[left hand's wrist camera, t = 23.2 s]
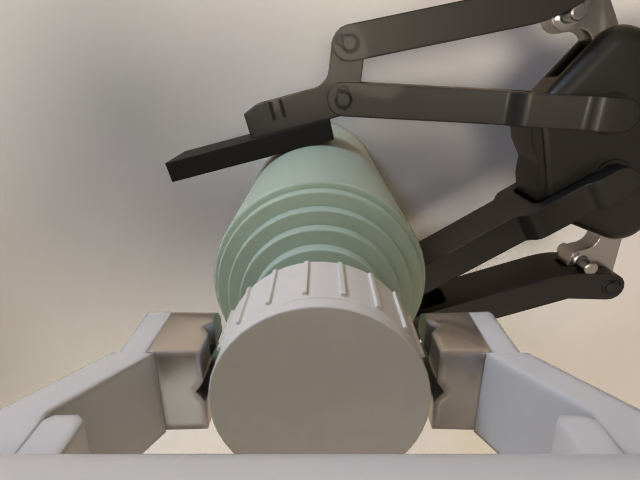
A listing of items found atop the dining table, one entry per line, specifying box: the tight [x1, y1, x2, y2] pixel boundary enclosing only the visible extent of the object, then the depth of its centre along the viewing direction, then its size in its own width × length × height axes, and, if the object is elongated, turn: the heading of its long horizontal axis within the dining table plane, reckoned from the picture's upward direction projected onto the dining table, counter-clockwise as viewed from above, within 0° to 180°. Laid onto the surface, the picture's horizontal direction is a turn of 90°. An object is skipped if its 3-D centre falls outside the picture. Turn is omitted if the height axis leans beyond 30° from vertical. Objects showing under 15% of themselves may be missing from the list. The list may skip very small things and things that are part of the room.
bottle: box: [214, 124, 425, 322], centre depth 17 cm, size 6×6×18 cm
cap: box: [208, 261, 431, 454], centre depth 9 cm, size 4×4×2 cm
